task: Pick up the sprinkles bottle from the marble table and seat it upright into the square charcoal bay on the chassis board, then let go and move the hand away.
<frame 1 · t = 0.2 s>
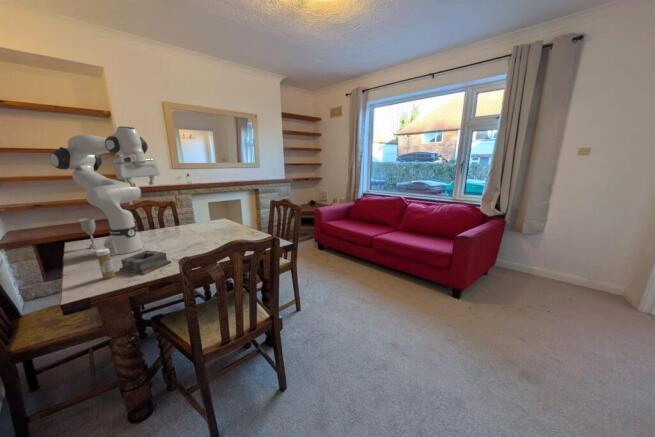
hand: (142, 185, 132), 39 cm above the table, tool pointing down, fingers open, 8 cm apart
sprinkles bottle: (109, 277, 115), on the table
chalice: (94, 247, 155), on the table
chassis: (146, 266, 126), on the table
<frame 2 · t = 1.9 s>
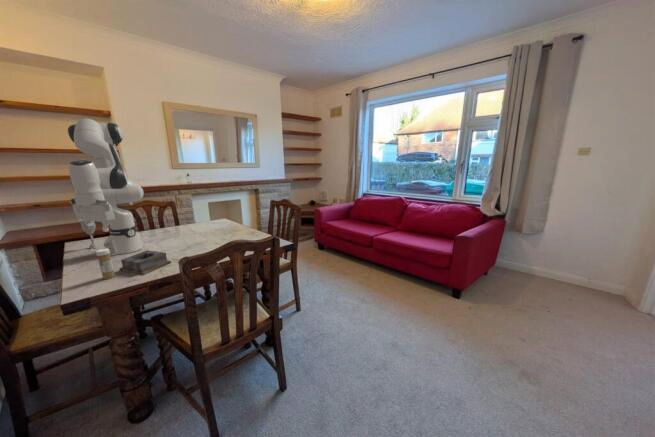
hand: (98, 230, 110), 22 cm above the table, tool pointing down, fingers open, 8 cm apart
nothing on the table moved.
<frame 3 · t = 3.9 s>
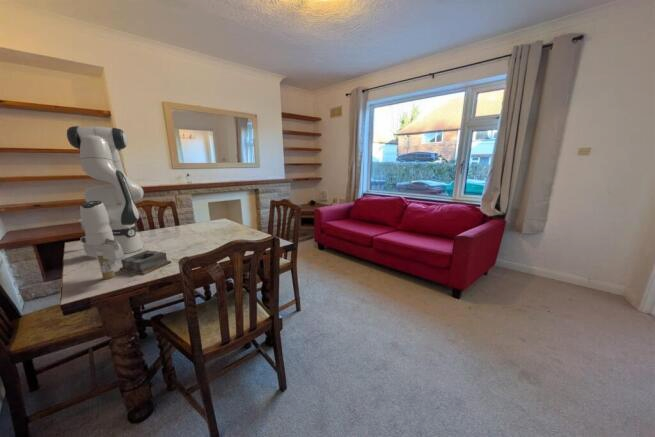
hand: (108, 266, 114), 5 cm above the table, tool pointing down, fingers closed on sprinkles bottle, 4 cm apart
sprinkles bottle: (109, 277, 115), on the table, touching gripper
everything else where it was.
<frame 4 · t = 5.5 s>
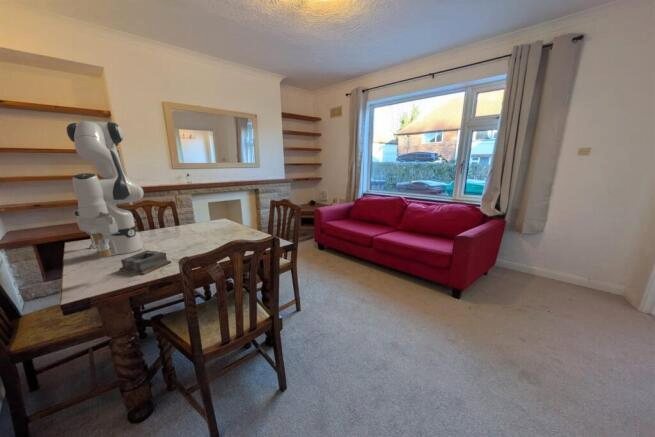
hand: (102, 241, 112), 17 cm above the table, tool pointing down, fingers closed on sprinkles bottle, 4 cm apart
sprinkles bottle: (105, 256, 113), point 10 cm above the table, touching gripper
everything else where it was.
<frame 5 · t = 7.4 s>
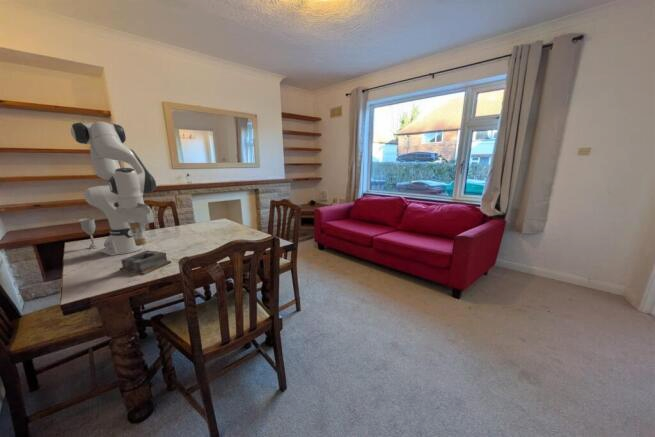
hand: (138, 231, 121), 19 cm above the table, tool pointing down, fingers closed on sprinkles bottle, 4 cm apart
sprinkles bottle: (141, 244, 123), point 12 cm above the table, touching gripper
everything else where it was.
when the fingers open (8 cm above the table, at t = 10.1 s): sprinkles bottle stays where it is, resting on chassis.
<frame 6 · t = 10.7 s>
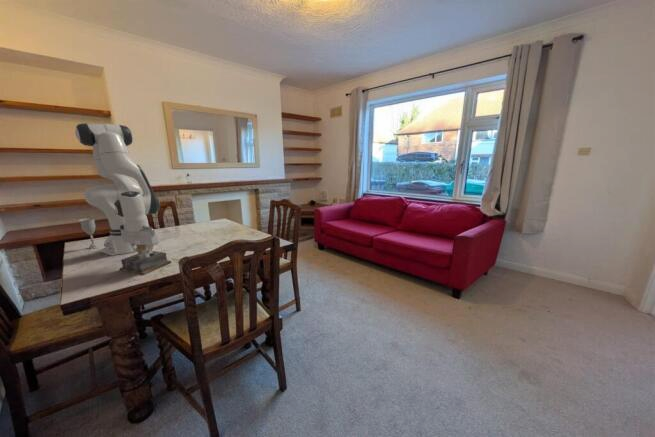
hand: (143, 252, 124), 8 cm above the table, tool pointing down, fingers open, 8 cm apart
sprinkles bottle: (146, 265, 125), point 1 cm above the table, touching chassis
everything else where it was.
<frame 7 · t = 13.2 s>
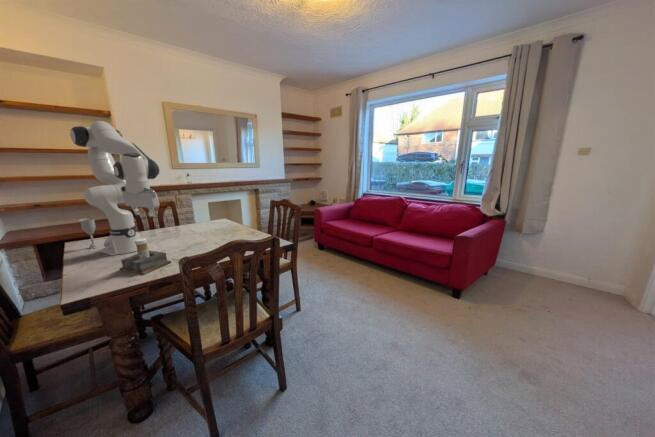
hand: (144, 215, 125), 25 cm above the table, tool pointing down, fingers open, 8 cm apart
nothing on the table moved.
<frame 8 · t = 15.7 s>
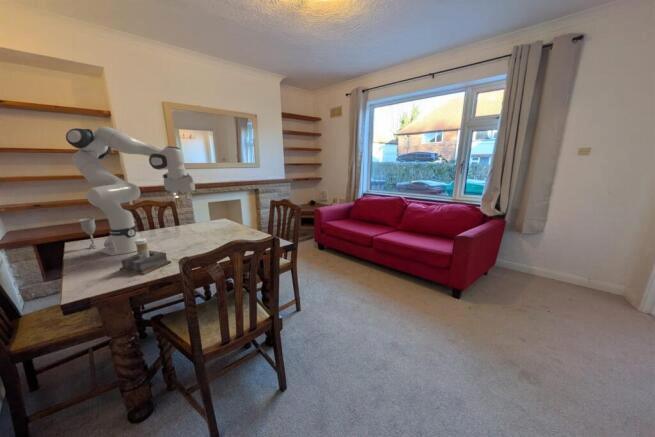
hand: (181, 198, 150), 29 cm above the table, tool pointing down, fingers open, 8 cm apart
nothing on the table moved.
at the end: sprinkles bottle 0.7 cm off-centre on the chassis, point 0.8 cm above the chassis's base; sprinkles bottle tilted 0°; the gripper is holding nothing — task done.
